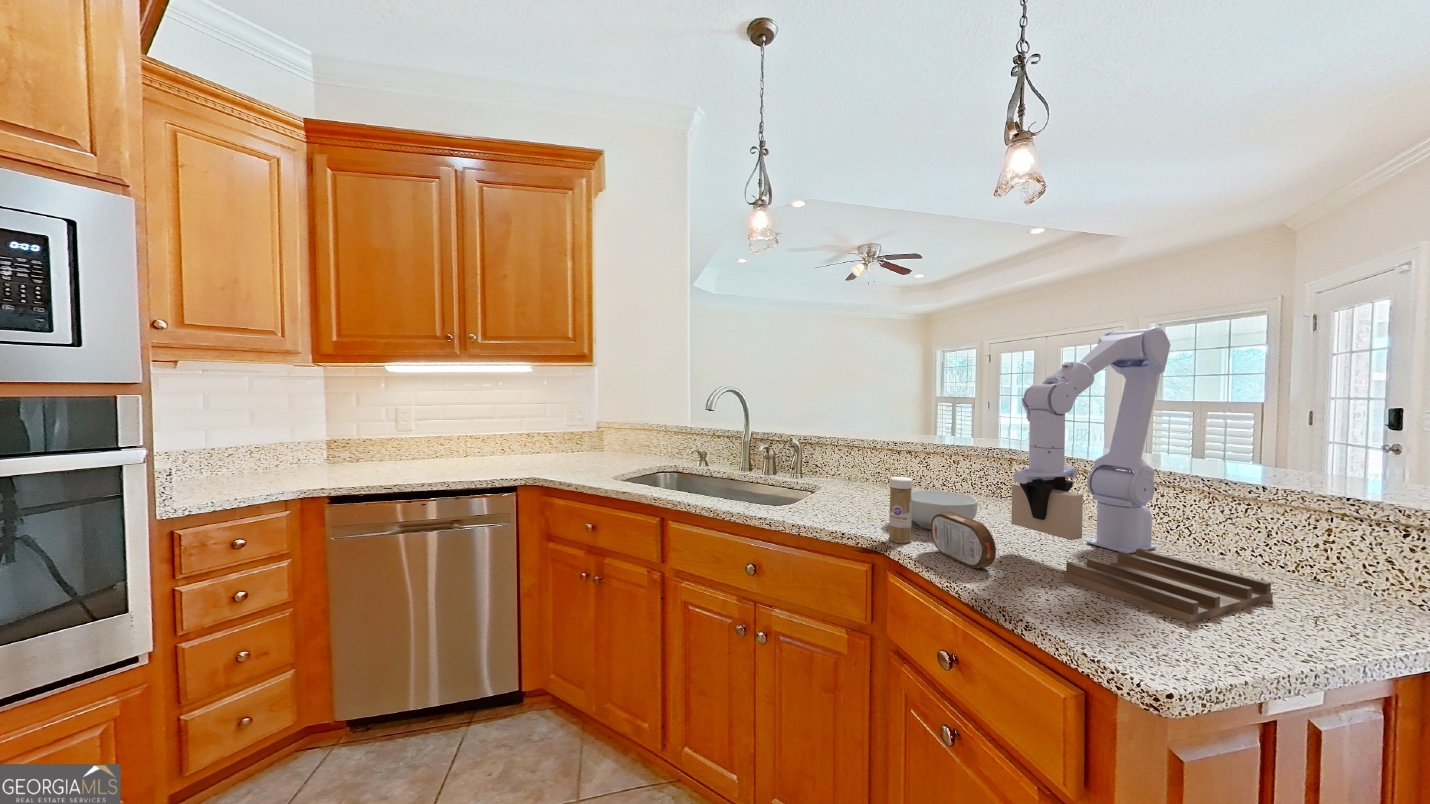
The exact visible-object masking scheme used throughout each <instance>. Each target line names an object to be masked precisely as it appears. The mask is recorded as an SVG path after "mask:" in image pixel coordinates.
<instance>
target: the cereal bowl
mask: <svg viewBox="0 0 1430 804" xmlns="http://www.w3.org/2000/svg"><path fill="white" fill-rule="evenodd" d="M978 503H979V501H978V499H977V498H976V497H974V496H971V495H968V494H964V493H959V492H952V491H945V490H928V489H927V490H924V489H921V490H917V489H916V490H911V521H913V522H916V523H917V524H918V525H919V526H920V527H922V528H924V529H928V530H931V521H932V519H933V517H934V516H935V515H937V514H940V513H945V512H954V513H957V514H959V515H962V516H964V517H967V518H970V519H973V520H975V518H976V516H977V512H978V506H979V505H978Z"/></svg>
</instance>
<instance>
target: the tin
mask: <svg viewBox="0 0 1430 804" xmlns="http://www.w3.org/2000/svg"><path fill="white" fill-rule="evenodd" d="M930 532H931V539H932V542H933V544H934V546H935V548H936V549H937V550H938V552H940V553H941V554H942V555H943V556H945V557H948V558H950V559H952V560H954V561H956V562H958V563H960V564H962V565H964V566H965V567H968V568H971V569H980V568H981V569H982V568H988V567H990V566H992V565H993V564H994V563H995V561H996V557H997V547H996V542H995V540H994V537H993V535H992V533H991V531H990V530H989V529H988V528H987V526H986V525H985V524H983V523H982V522H980V521H977V520H975V519H970V518H967V517H964V516H962V515H959V514H957V513H954V512H945V513H940V514H937V515H935V516H934V517H933V519H932V521H931V529H930Z"/></svg>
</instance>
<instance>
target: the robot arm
mask: <svg viewBox="0 0 1430 804" xmlns="http://www.w3.org/2000/svg"><path fill="white" fill-rule="evenodd" d="M1170 349H1171V343H1170V340H1169V338H1168V334H1167V333H1166V332H1165V331H1164V330H1163V329H1162V328H1161V327H1150V328H1143V329H1142V328H1141V329H1133V330H1132V329H1130V330H1119V331H1114V330H1112V331H1107V332H1105V333H1104V334H1103V335H1102V336H1100V337H1099V338H1098V341H1097V345H1096V346H1094V348H1093V349H1092V350H1090V351H1089V353H1087V354H1086V355H1085V356H1084V357H1082V359H1081V360H1080V361H1066V362H1064V363H1063V364H1061V368H1060V369H1058V370H1057V371H1056V372H1055V373H1053V374H1052V375H1049V376H1048V375H1047V377H1046V378H1045V380H1044V381H1043V382H1041V383H1034V384H1032V385H1030V386H1029V387H1028V388H1026V390H1025V392H1024V394H1023V397H1022V398H1021V401H1022V407H1023V409H1024V410H1025V412H1026V419H1027V421H1028V422H1029V426H1028V427H1029V429H1028V430H1029V435H1028V438H1029V439H1028V441H1029V442H1028V445H1029V446H1028V466H1025V467H1024V469H1021V470H1017V471H1014V472H1013V482H1014V483H1017V484H1018V483H1020V486H1021V487H1022V489H1023V491H1024V492H1025V494H1026V496H1027V499H1028V502H1029V505H1030V509H1031V512H1032V516H1033V518H1036V519H1040V520H1045V518H1046V514H1047V505H1048V500H1049V496H1050V493H1051V491H1052V489H1056V490H1062V491H1067V492H1070V490H1071V489H1072V488H1073V486H1074V481H1072V480H1068V478H1071V479H1075V478H1076V479H1077V478H1078V467H1075V466H1074V467H1072V466H1065V452H1066V451H1065V446H1066V445H1065V444H1066V443H1065V442H1066V439H1065V436H1066V414H1067V413H1069V412H1071V410H1072V409H1073V407H1074V403H1075V401H1076V400H1077V397H1078V396H1079V395H1081V394H1082V393H1083V392H1085V391H1086V390H1087V389H1088V388H1090V387H1091V386H1092V385H1093V384H1094V381H1095V375H1096V374H1098V373H1100V371H1102V370H1104V369H1105V368H1106V367H1108V366H1110V367H1111V368H1112V370H1114V371H1115V372H1116V373H1117V374H1119V375H1122V376H1123V377H1124V379H1125V383H1124V385H1123V386H1124V387H1123V391H1122V395H1121V398H1120V399H1121V400H1120V405H1119V408H1118V413H1117V417H1116V421H1115V426H1114V430H1113V434H1112V438H1111V443H1110V447H1109V452H1107V453H1106V454H1104V455H1102V456H1100V457H1098V458H1096V459H1095V461H1094V465H1093V467H1092V469H1091V471H1090V472H1089V473H1088V476H1087V478H1086V486H1087V489H1088V492H1089V493H1090V494H1091V495H1092V496H1093V501H1096V504H1097V506H1096V512H1097V513H1096V538H1093V539H1092V538H1091V539H1086V541H1085V543H1087V544H1090V545H1093V546H1097V547H1101V548H1104V549H1108V550H1111V551H1116V552H1117V553H1119V552H1123V553H1127V554H1134V553H1136V549H1144V550H1147V551H1150V550H1154V549H1157V545H1155V544H1152V535H1153V533H1152V531H1153V530H1152V529H1153V515H1152V512H1151V510H1150V509H1149V508H1148V506H1147V504H1149V502H1150V501H1151V500H1152V499H1153V497H1154V495H1155V491H1156V490H1155V489H1156V488H1155V482H1154V481H1155V470H1154V468H1153V467H1152V466H1151V465H1150V464H1148V463H1147V462H1146V461H1145V460H1144V459H1143V452H1144V448H1145V445H1146V439H1147V435H1148V431H1149V427H1150V426H1149V425H1150V421H1151V417H1152V413H1153V409H1154V404H1155V400H1156V396H1157V395H1156V394H1157V391H1158V386H1159V382H1160V377H1161V375H1162V373H1164V372H1165V370H1166V367H1167V363H1168V358H1169V353H1170Z"/></svg>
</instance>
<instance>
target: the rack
mask: <svg viewBox="0 0 1430 804" xmlns="http://www.w3.org/2000/svg"><path fill="white" fill-rule="evenodd" d="M1116 557H1117V561H1115V562H1114V561H1113V562H1107V561H1103V560H1100V559H1097V558H1093V557H1089V558H1086V566H1085V565H1083V564H1080V563H1076V562H1074V561H1067V562H1066V565H1065V568H1066V570H1065V571H1063V580H1065V581H1067V582H1070V583H1073V584H1076V585H1078V586H1082V587H1085V588H1087V589H1090V590H1093V591H1096V592H1098V593H1101V594H1104V595H1107V596H1109V597H1113V598H1115V599H1118V600H1122V601H1125V602H1127V603H1130V604H1133V605H1136V606H1138V607H1141V608H1144V609H1146V610H1150V611H1153V612H1155V613H1158V614H1161V615H1164V616H1167V617H1169V618H1173V619H1176V620H1178V621H1180V622H1184V623H1187V624H1190V625H1191V624H1196V623H1199V622H1202V621H1205V620H1208V619H1212V618H1216V617H1219V616H1223V615H1226V614H1230V613H1233V612H1236V611H1240V610H1243V609H1248V608H1250V607H1254V606H1256V605H1260V604H1264V603H1268V602H1271V601H1273V599H1274V597H1273V595H1274V593H1273V592H1272V591H1271V590H1272V582H1269V581H1266V580H1263V579H1262V580H1261V579H1258V578H1254V577H1251V576H1246V575H1243V574H1238V573H1234V572H1231V571H1227V570H1223V569H1220V568H1217V567H1212V566H1208V565H1205V564H1201V563H1196V562H1192V561H1189V560H1185V559H1181V558H1178V557H1173V556H1171V555H1166V554H1162V553H1158V552H1155V551H1152V550H1144V549H1136V552H1135V555H1134V554H1132V553H1128V554H1127V553H1123V552H1117V556H1116Z"/></svg>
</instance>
